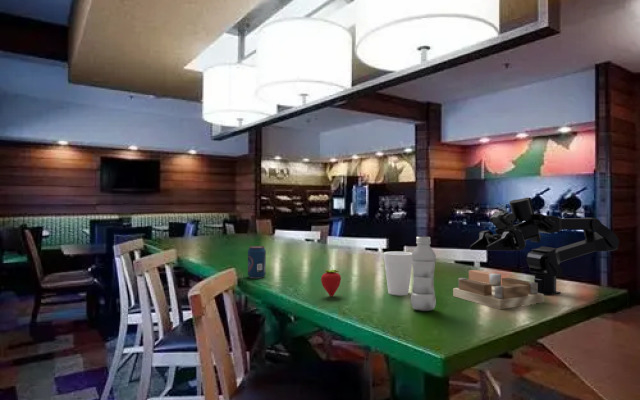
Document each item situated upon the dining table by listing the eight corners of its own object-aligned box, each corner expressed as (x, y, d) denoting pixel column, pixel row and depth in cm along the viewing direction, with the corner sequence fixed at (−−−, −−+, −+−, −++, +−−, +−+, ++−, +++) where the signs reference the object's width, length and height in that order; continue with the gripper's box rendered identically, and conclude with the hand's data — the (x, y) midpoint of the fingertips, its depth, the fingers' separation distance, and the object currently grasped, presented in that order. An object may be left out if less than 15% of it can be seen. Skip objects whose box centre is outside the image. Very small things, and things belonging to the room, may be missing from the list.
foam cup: (391, 297, 131) (391, 255, 131) (379, 291, 140) (379, 252, 140) (418, 295, 134) (418, 254, 134) (405, 289, 143) (405, 251, 143)
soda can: (245, 276, 167) (245, 246, 168) (261, 275, 171) (262, 245, 171) (251, 279, 161) (251, 247, 161) (268, 277, 165) (268, 247, 165)
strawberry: (317, 297, 130) (317, 265, 130) (328, 293, 137) (328, 262, 137) (334, 299, 127) (334, 266, 127) (344, 295, 134) (344, 263, 134)
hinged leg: (503, 284, 137) (503, 274, 137) (495, 285, 135) (495, 275, 135) (475, 278, 147) (475, 269, 147) (468, 279, 146) (468, 270, 146)
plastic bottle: (417, 306, 120) (417, 235, 120) (439, 310, 115) (439, 237, 115) (406, 310, 115) (406, 237, 115) (429, 314, 110) (429, 238, 110)
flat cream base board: (494, 291, 140) (494, 274, 140) (543, 302, 124) (543, 283, 124) (453, 296, 133) (453, 278, 133) (499, 309, 116) (499, 288, 116)
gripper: (493, 211, 145) (454, 225, 141) (531, 206, 127) (487, 222, 123) (504, 242, 145) (465, 256, 141) (543, 241, 126) (500, 258, 123)
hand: (478, 248), depth 132 cm, fingers open, 9 cm apart
